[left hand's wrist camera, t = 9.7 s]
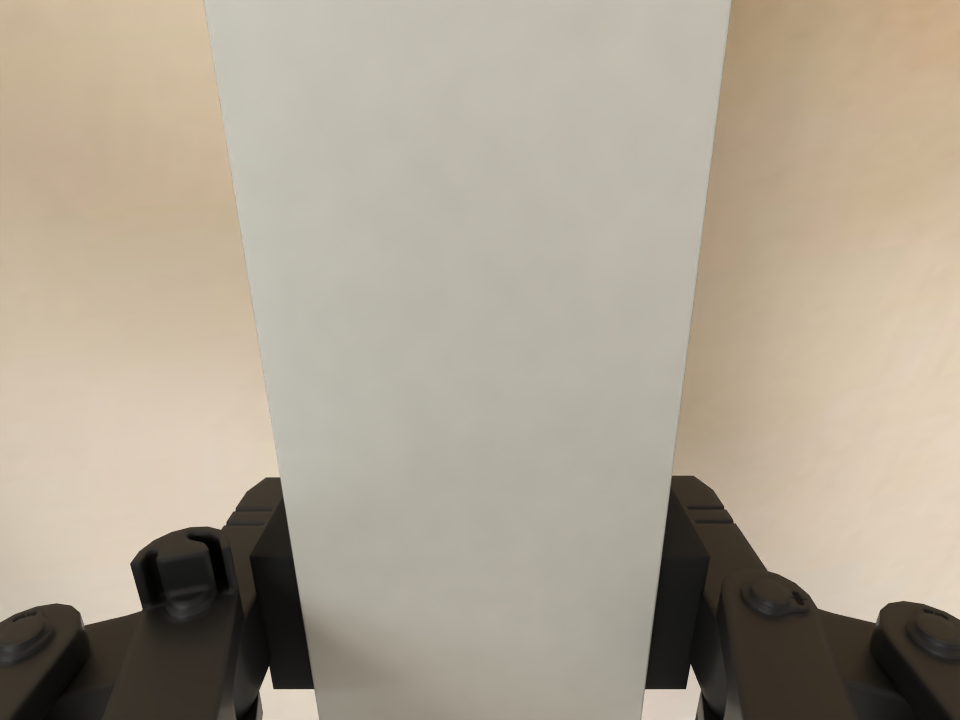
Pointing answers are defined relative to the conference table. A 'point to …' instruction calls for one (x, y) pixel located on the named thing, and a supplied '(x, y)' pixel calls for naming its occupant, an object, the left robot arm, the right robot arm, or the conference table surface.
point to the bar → (473, 330)
